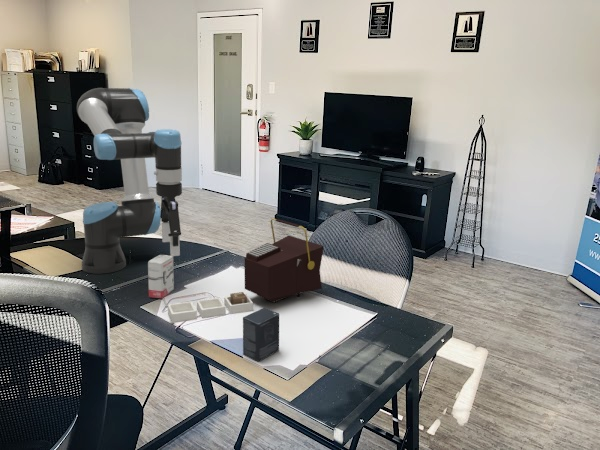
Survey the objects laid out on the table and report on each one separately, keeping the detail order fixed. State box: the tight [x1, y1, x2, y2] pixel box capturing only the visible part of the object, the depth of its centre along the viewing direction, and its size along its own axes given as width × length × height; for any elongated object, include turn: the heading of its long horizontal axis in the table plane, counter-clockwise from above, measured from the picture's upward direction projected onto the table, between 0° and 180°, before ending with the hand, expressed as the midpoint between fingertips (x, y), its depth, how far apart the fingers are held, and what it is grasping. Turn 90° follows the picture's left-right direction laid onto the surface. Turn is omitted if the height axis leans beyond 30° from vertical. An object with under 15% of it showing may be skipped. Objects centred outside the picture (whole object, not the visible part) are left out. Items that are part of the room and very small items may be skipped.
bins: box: [167, 293, 254, 325], centre depth 149 cm, size 7×24×3 cm, turn 113°
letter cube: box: [229, 291, 247, 305], centre depth 152 cm, size 4×4×4 cm
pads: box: [161, 297, 168, 308], centre depth 160 cm, size 7×24×1 cm, turn 113°
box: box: [242, 307, 280, 363], centre depth 126 cm, size 8×6×11 cm
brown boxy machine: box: [244, 218, 325, 304], centre depth 159 cm, size 16×23×25 cm
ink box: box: [147, 254, 175, 299], centre depth 160 cm, size 9×5×12 cm, turn 168°
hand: (170, 248), depth 156 cm, fingers open, 13 cm apart
